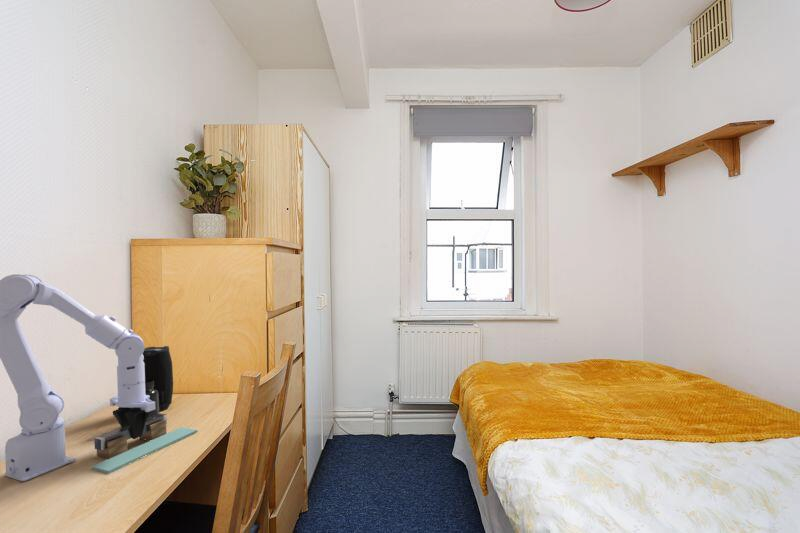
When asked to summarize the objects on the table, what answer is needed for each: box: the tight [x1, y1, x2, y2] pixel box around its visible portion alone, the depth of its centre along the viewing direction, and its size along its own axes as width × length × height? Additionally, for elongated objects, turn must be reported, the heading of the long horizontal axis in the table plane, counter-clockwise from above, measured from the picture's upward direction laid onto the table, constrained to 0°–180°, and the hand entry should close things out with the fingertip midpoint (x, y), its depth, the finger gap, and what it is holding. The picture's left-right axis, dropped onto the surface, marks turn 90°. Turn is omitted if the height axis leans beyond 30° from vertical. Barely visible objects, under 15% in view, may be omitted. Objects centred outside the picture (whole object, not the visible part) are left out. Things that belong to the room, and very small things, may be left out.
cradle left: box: [96, 435, 128, 460], centre depth 92 cm, size 4×5×4 cm
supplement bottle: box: [145, 380, 160, 418], centre depth 112 cm, size 7×7×12 cm
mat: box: [91, 426, 198, 474], centre depth 95 cm, size 22×6×1 cm, turn 157°
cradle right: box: [138, 420, 167, 441], centre depth 101 cm, size 4×5×4 cm
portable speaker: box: [143, 345, 174, 412], centre depth 123 cm, size 9×9×20 cm
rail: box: [93, 412, 168, 451], centre depth 97 cm, size 16×2×2 cm, turn 157°
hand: (133, 436), depth 97 cm, fingers closed on rail, 2 cm apart
